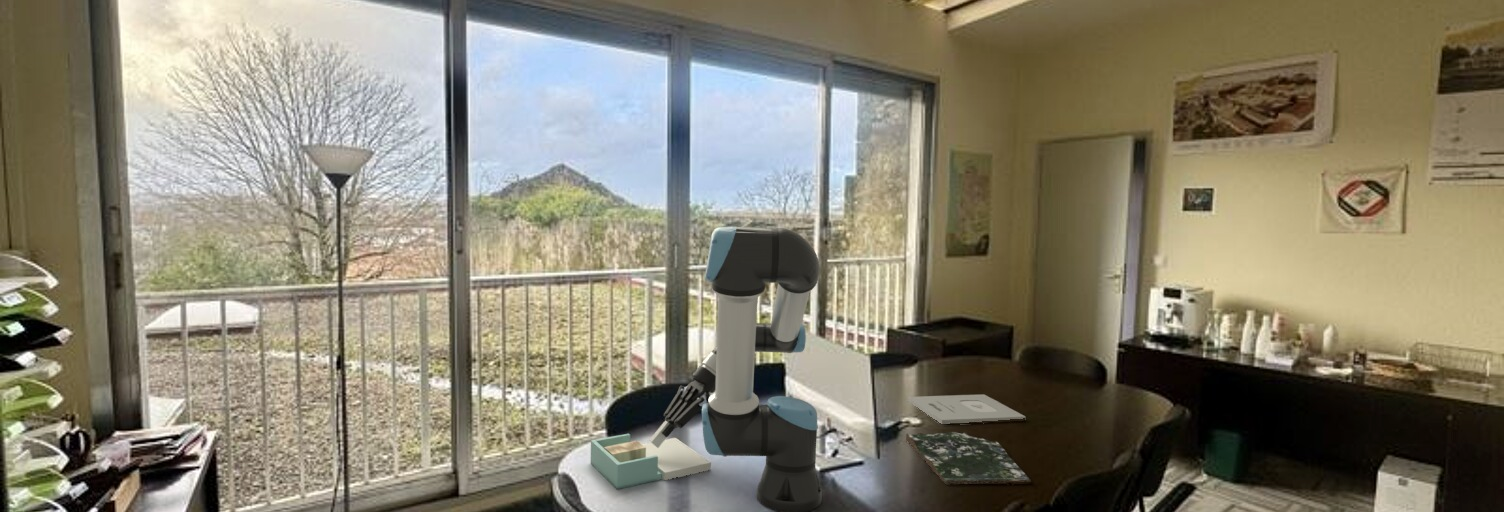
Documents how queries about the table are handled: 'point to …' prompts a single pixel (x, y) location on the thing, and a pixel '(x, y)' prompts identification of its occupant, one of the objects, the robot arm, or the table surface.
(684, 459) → the cream board
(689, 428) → the table surface
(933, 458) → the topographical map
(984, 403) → the award plaque
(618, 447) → the maple block
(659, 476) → the box
